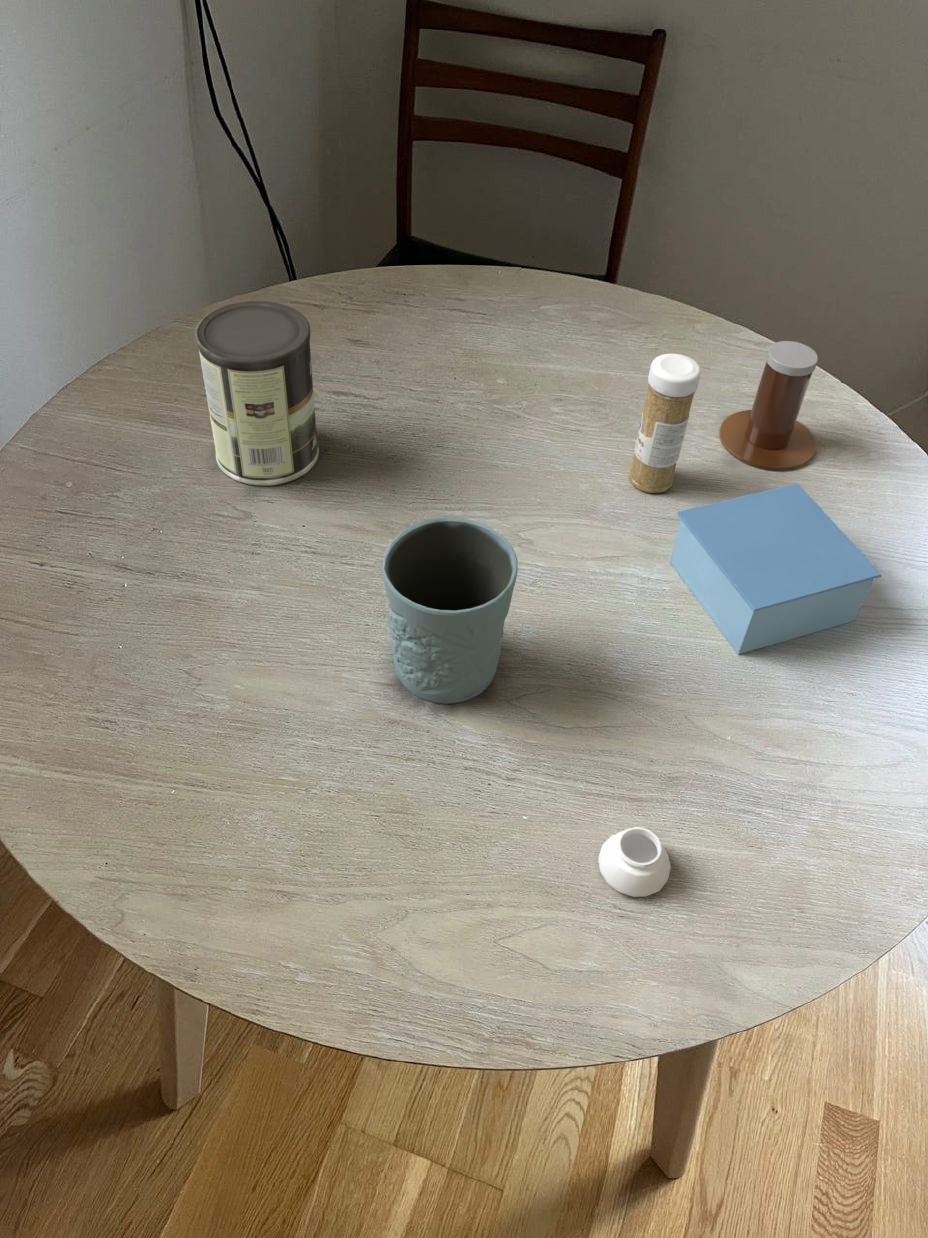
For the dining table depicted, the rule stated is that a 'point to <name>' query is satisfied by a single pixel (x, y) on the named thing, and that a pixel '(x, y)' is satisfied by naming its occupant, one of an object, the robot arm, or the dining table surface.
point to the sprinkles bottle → (663, 421)
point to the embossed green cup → (448, 606)
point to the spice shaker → (780, 394)
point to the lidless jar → (634, 862)
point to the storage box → (770, 567)
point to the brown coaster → (778, 460)
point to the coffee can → (259, 391)
